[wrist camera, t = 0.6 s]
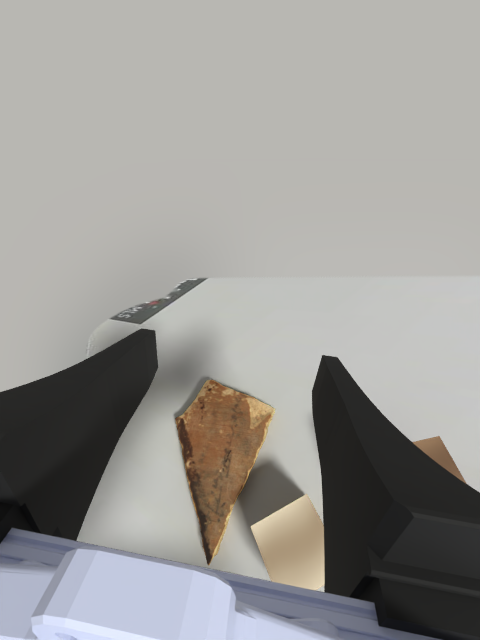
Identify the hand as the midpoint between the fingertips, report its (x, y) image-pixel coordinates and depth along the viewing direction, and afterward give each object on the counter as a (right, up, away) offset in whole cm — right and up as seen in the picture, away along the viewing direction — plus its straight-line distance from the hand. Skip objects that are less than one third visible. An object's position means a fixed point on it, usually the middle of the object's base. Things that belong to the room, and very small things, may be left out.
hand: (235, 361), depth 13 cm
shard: (0, -11, +16) cm, 19 cm away
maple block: (+5, -16, +10) cm, 19 cm away
